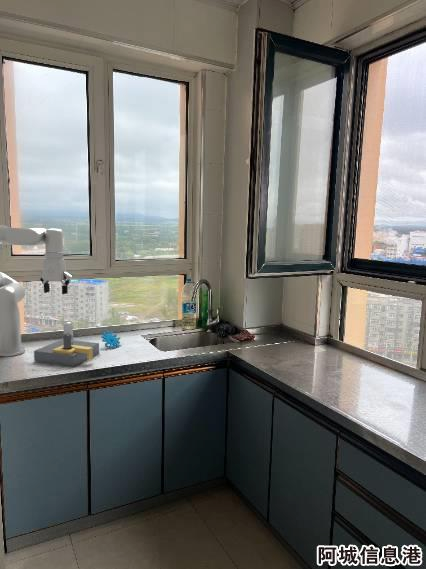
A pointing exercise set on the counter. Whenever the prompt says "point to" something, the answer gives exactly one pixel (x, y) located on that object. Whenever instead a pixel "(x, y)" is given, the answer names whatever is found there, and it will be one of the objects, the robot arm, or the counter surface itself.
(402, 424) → the counter surface
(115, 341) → the gear
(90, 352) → the bracket
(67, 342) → the wedge pin
